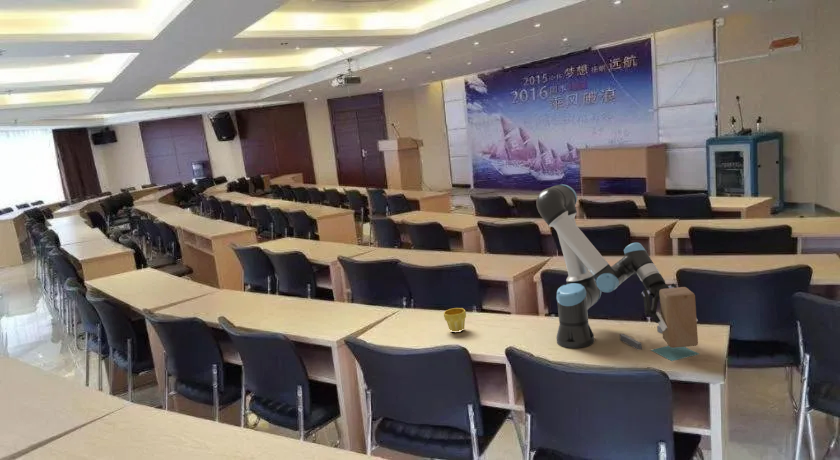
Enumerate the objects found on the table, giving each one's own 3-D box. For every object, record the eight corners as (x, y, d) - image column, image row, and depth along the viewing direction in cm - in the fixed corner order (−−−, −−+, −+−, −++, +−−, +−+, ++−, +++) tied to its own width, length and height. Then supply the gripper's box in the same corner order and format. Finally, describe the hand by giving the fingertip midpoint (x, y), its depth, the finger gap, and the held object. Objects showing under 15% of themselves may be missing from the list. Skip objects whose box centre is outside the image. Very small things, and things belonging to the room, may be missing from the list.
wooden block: (699, 346, 199) (695, 293, 196) (669, 348, 201) (666, 296, 198) (689, 336, 209) (686, 285, 206) (662, 338, 211) (658, 288, 208)
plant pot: (441, 333, 261) (439, 313, 260) (455, 326, 269) (452, 306, 267) (458, 336, 254) (456, 316, 253) (472, 328, 262) (469, 309, 260)
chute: (620, 340, 226) (619, 334, 225) (660, 330, 230) (660, 325, 229) (638, 349, 214) (638, 343, 214) (680, 339, 218) (680, 333, 218)
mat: (650, 350, 212) (650, 349, 212) (677, 343, 215) (677, 343, 215) (671, 361, 201) (671, 360, 201) (699, 354, 204) (699, 353, 204)
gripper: (673, 277, 221) (703, 323, 209) (619, 288, 216) (647, 337, 204) (682, 266, 215) (713, 314, 203) (626, 278, 210) (655, 327, 198)
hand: (680, 325), depth 203 cm, fingers closed on wooden block, 12 cm apart
